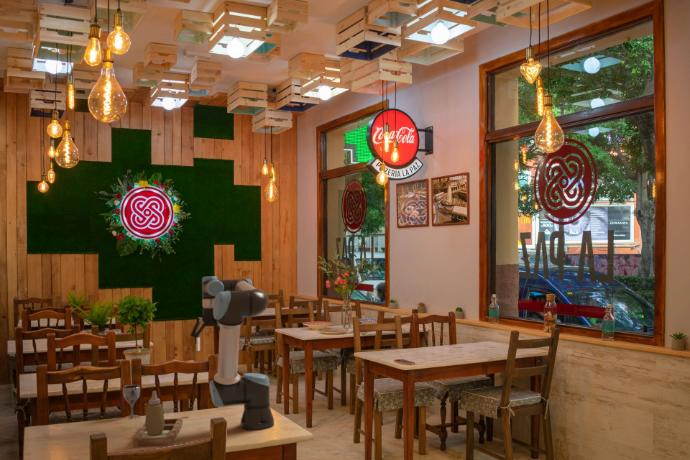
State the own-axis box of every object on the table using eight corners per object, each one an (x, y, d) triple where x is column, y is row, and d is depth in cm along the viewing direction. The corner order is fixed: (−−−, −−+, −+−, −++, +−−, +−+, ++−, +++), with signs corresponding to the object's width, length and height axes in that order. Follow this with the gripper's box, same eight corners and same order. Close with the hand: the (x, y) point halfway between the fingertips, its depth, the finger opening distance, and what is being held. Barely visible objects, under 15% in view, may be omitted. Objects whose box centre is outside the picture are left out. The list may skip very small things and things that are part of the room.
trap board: (146, 426, 300) (146, 419, 300) (182, 424, 302) (182, 417, 302) (132, 447, 268) (132, 439, 268) (172, 444, 270) (172, 436, 270)
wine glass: (133, 414, 324) (133, 384, 325) (144, 416, 320) (143, 385, 320) (120, 418, 318) (119, 387, 318) (130, 420, 313) (129, 388, 314)
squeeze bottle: (159, 436, 270) (158, 393, 271) (141, 436, 272) (140, 392, 272) (168, 431, 278) (167, 389, 278) (151, 431, 279) (150, 388, 280)
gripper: (236, 306, 325) (237, 349, 323) (190, 307, 330) (190, 350, 328) (231, 307, 318) (232, 351, 316) (183, 308, 323) (184, 351, 321)
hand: (211, 350), depth 322 cm, fingers open, 13 cm apart
